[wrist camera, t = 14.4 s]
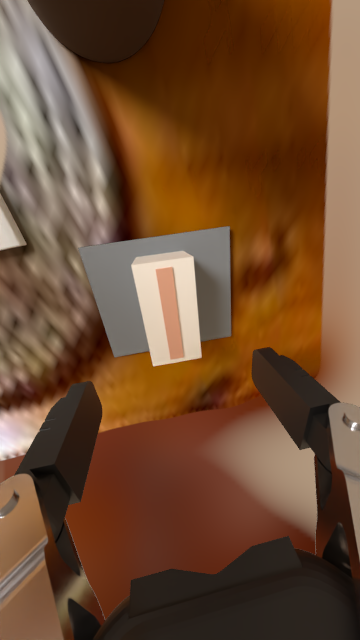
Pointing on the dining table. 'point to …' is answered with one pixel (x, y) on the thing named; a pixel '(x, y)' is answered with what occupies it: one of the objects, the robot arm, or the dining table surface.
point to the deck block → (168, 306)
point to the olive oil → (100, 25)
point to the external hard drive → (9, 229)
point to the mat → (121, 295)
